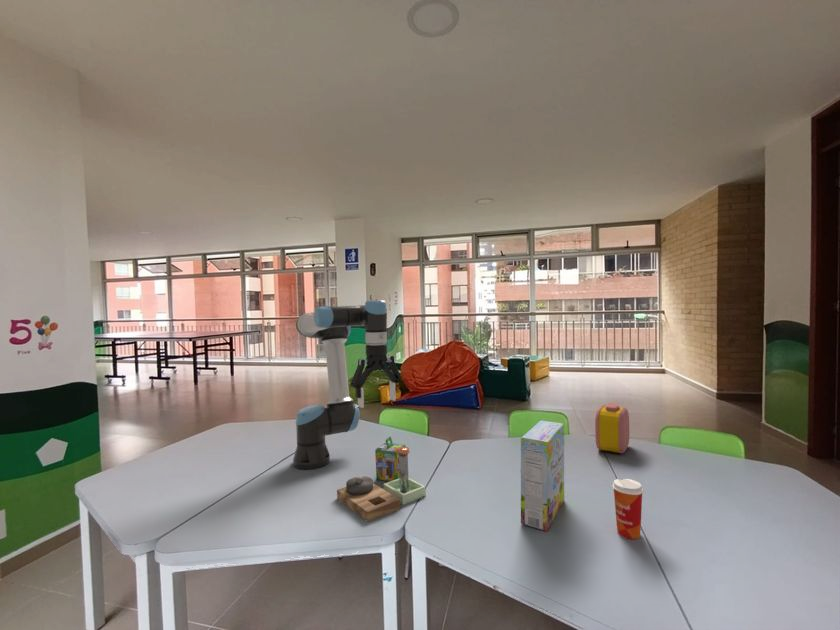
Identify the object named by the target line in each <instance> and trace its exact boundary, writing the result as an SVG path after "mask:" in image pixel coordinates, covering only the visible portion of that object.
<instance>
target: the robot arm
mask: <svg viewBox="0 0 840 630" xmlns="http://www.w3.org/2000/svg"><path fill="white" fill-rule="evenodd" d="M387 313H388V310H387V302H386V301H385V300H384V299H382V300H376V299H375V300H374V299H373V300H366V301H365V303H364V304H362V305H360V304H359V305H343V306H342V305H337V306H333V305H332V306H328V305H324V306H323V305H322V306H317V307H316V308H315V309H314V311H313V312H307V313H304V314H300V316H299V317H297V319H296V321H295V328H296V330H297V332H298V333H299V335H301V336H303V337H304V338H309V339H321V343H322V344H323V345H324V346H325V357H326V359H325V360H326V367H327V368H326V370H327V379H328V380H327V381H328V391H329V400H328V401H327V403H326V406H327V407H325V406H324V405H323V404H316V405H314V404H313V405H308V406H306V407H303V408H301V409H299V410H298V411H297V413H296V414H295V424H296V425H295V427H296V428H295V429H296V448H295V452H294V455H293V458H292V466H293V467H294V468H295V469H300V470H314V469H317V468H321V467H325V466H326V465H329V463H330V461H331V455H330V451H329V450H328V449H329V448H328V446H327V444H326V436H331V435H337V434H341V433H347V432H352V431H354V430H356V428H357V427H358V425H359V421H360V409H359V408H361V409H363V408H365V398H364V397H365V396H364V395H365V394H364V393H365V390H364V388H363V386H364V385H365V383H366V381H367V380H368V378H369V377H370V375H371V374H372V373H373V372H376V371H383V372H384V374H385V375H386V376H387V377H388V379H389V380H390V381H389V386H388V387H389V400H390V401H395V402H396V399H397V398H396V395H397V394H396V391H397V390H398V383H399V382H400V381H401V380H402V375H401V373H400V371H399V369H398V366H397V364H396V361H395V356H394V355H388V345H387V342H388V337H387V336H388V331H387V329H388V328H387V327H388V325H387V323H388V321H387V319H388V317H387ZM352 327H364V328H365V330H364V331H365V339H364V340H365V341H364V342H365V343H366V345H365V355H366V357H365V359H362V358H359V359H358V360H357V367H356V368H355V372H354V374H353V377H352V379H351V382H350V386H349V379H348V377H349V376H348V368H347V359H346V358H347V357H346V348H345V343H346V342H347V341H348V337H349V336H350V335H351V332H352V331H351V330H352ZM387 363H388V365H387ZM349 387H351V388H354V389H355V398H357V403H354V399H353V398H352V397H351V396H350V388H349Z"/></svg>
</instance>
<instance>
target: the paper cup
mask: <svg viewBox="0 0 840 630" xmlns="http://www.w3.org/2000/svg"><path fill="white" fill-rule="evenodd" d="M612 488H613V495H614V507H615V508H614V509H615V520H616V521H615V522H616V531H617V533H618V535H619V536H621V537H623V538H625V539H629V540H638V539H640V538H641V530H642V528H641V527H642V508H643V507H642V506H643V493H644V492H645V491H644V489H643V487H642V484H641V483H640V482H639V481H636V480H634V479H630V478H619V479H618V478H616V479H615V480H613V483H612Z"/></svg>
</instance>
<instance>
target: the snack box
mask: <svg viewBox="0 0 840 630" xmlns="http://www.w3.org/2000/svg"><path fill="white" fill-rule="evenodd" d="M564 501H565V424H564V423H561V422H554V421H545V420H539V421H538V422H537V423H536V424H535V425H534V426H533V427H532V428H530V429H529V430H528V431H527V432H526V433H524V435H523V436H521V438H520V524H521V525H524V526H528V527H532V528H535V529H538V530H541V531H546V532H548V531H549V529H550V526H551V525H552V523H553V521H554V520H555V517H556V515H557V514H558V512H559V510H560V509H561V507H562V505H563V503H564Z"/></svg>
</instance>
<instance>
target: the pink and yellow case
mask: <svg viewBox="0 0 840 630" xmlns="http://www.w3.org/2000/svg"><path fill="white" fill-rule="evenodd" d="M594 423H595V424H594V425H595V445H596V449H597V450H599V451H605V452H611V453H612V452H613V453H618V454H620V455H622V454H624V453H625V452H626V450H627V448H628V447H629V443H630V414H629V411H628V409H627V407H625V406H622V407H620V405H619V404H618V403H613V402H611V403H610V402H608V403H607V404H604V405H601V406H600V407H598V409H597V411H596V413H595V422H594Z"/></svg>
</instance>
